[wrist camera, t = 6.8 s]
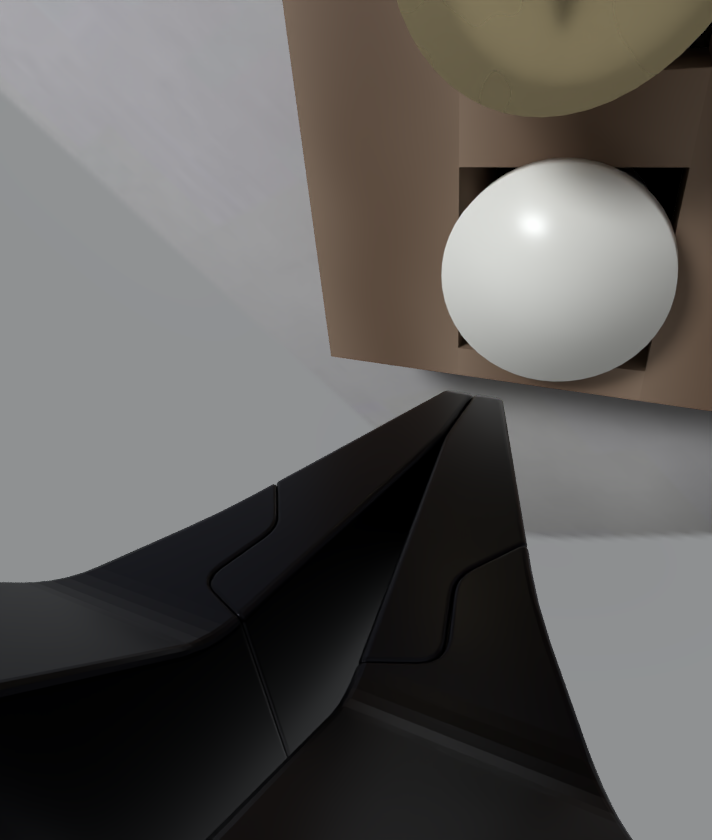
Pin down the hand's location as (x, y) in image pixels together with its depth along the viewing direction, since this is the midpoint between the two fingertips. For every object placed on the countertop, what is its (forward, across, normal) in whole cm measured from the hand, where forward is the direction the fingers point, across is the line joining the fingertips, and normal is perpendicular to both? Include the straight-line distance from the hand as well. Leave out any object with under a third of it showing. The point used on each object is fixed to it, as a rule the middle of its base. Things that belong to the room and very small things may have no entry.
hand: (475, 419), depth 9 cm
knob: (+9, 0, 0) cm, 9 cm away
